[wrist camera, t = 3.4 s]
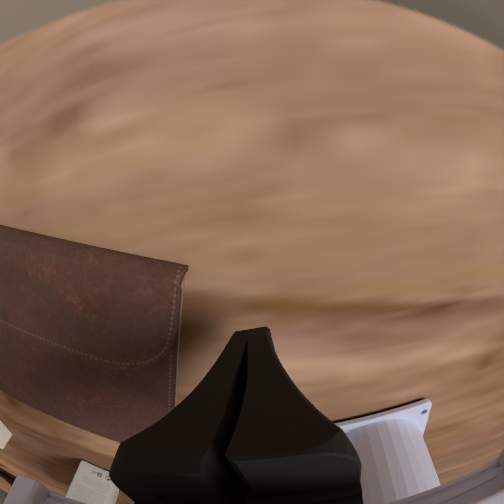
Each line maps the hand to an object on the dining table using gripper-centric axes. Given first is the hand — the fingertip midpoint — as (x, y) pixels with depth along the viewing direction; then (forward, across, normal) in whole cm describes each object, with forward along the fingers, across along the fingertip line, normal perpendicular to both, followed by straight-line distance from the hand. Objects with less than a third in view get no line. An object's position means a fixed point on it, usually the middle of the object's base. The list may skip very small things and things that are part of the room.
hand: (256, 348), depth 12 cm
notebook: (+3, +14, 0) cm, 15 cm away
